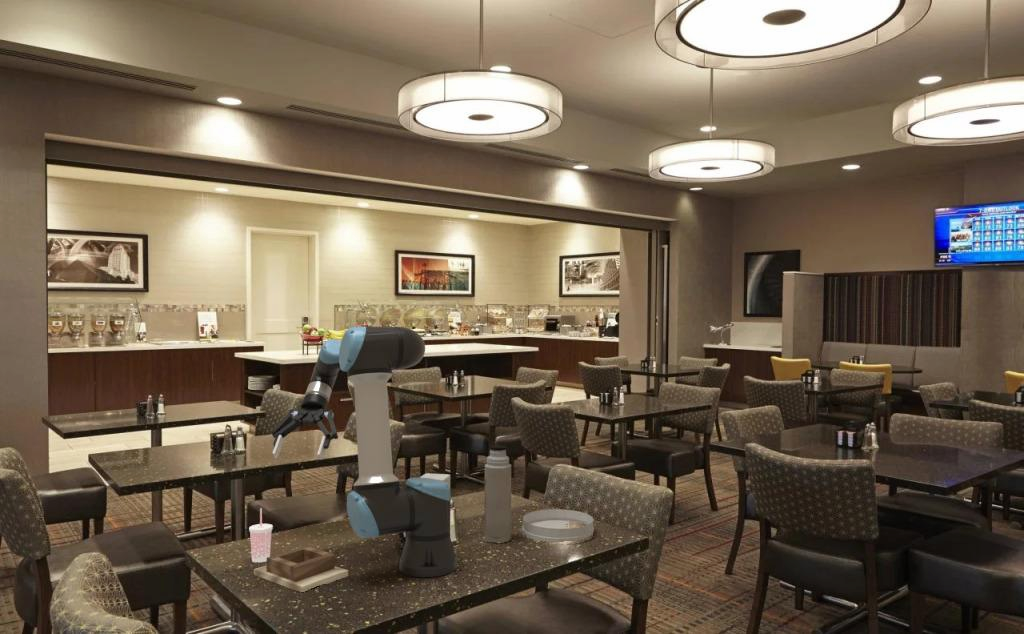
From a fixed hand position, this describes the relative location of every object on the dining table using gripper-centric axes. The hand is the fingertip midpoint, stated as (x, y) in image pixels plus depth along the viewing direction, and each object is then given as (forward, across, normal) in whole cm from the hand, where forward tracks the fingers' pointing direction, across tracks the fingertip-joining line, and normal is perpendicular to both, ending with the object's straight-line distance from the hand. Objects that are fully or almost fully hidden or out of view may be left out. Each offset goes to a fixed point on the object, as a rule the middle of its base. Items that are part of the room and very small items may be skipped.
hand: (297, 456), depth 207 cm
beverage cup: (+28, +4, -8) cm, 30 cm away
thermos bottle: (+12, -58, -25) cm, 64 cm away
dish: (+6, -76, -30) cm, 82 cm away
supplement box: (0, -36, -36) cm, 51 cm away
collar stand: (+36, -12, 0) cm, 38 cm away
